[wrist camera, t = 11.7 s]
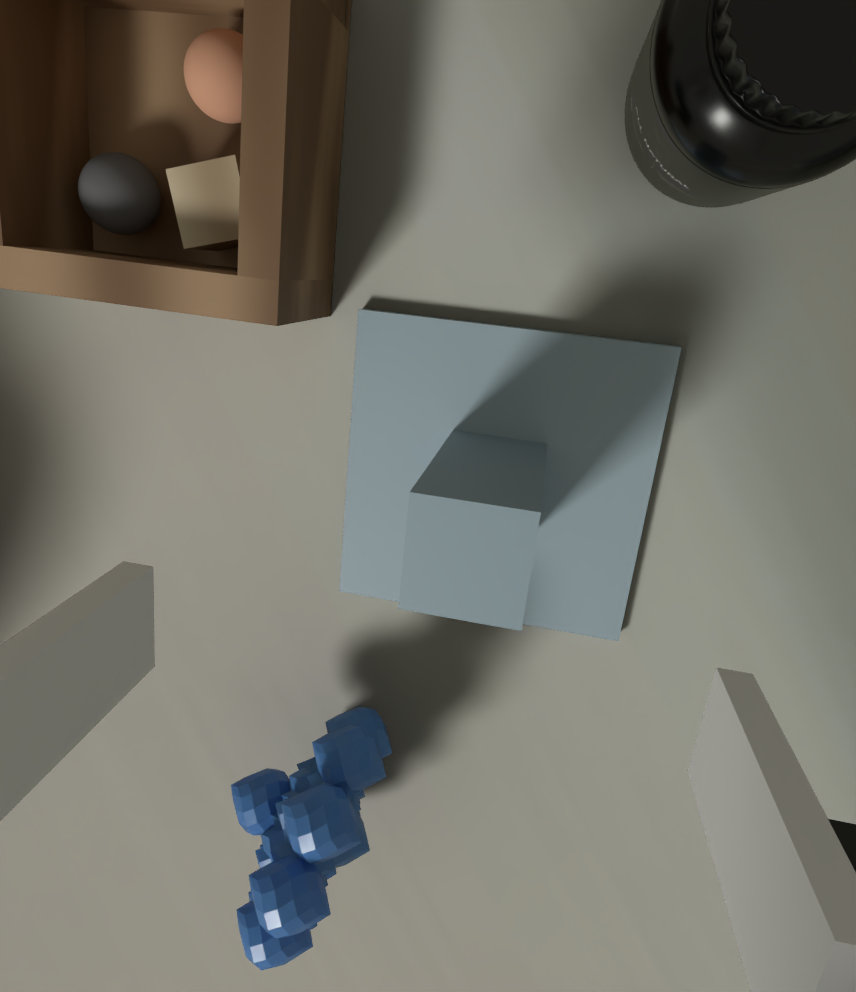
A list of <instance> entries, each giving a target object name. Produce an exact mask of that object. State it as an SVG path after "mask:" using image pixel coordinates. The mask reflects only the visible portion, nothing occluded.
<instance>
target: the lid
mask: <svg viewBox="0 0 856 992" xmlns="http://www.w3.org/2000/svg"><path fill="white" fill-rule="evenodd" d="M680 353H681V347H680V346H674V345H666V344H657V343H649V342H640V341H632V340H624V339H615V338H607V337H599V336H590V335H582V334H573V333H565V332H557V331H548V330H540V329H531V328H523V327H515V326H506V325H498V324H489V323H481V322H473V321H464V320H456V319H447V318H439V317H431V316H422V315H414V314H406V313H397V312H389V311H380V310H372V309H364V308H363V309H358V324H357V339H356V354H355V368H354V383H353V398H352V413H351V427H350V442H349V457H348V472H347V487H346V501H345V516H344V531H343V546H342V561H341V575H340V590H339V591H340V592H346V593H352V594H357V595H363V596H368V597H374V598H380V599H385V600H391V601H396V602H399V605H398V609H402V610H407V611H413V612H418V613H424V614H430V615H435V616H441V617H446V618H452V619H457V620H463V621H468V622H474V623H479V624H485V625H491V626H496V627H502V628H507V629H513V630H518V631H522V625H523V624H525V625H530V626H536V627H542V628H547V629H553V630H558V631H564V632H570V633H575V634H581V635H586V636H592V637H597V638H603V639H609V640H614V641H619V637H620V632H621V627H622V623H623V618H624V613H625V609H626V604H627V599H628V595H629V590H630V586H631V581H632V576H633V572H634V567H635V562H636V558H637V553H638V548H639V544H640V539H641V534H642V530H643V525H644V520H645V516H646V511H647V506H648V502H649V497H650V493H651V488H652V483H653V479H654V474H655V469H656V465H657V460H658V455H659V451H660V446H661V441H662V437H663V432H664V427H665V423H666V418H667V413H668V409H669V404H670V400H671V395H672V390H673V386H674V381H675V376H676V372H677V367H678V362H679V358H680Z"/></svg>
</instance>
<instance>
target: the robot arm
mask: <svg viewBox="0 0 856 992" xmlns="http://www.w3.org/2000/svg"><path fill="white" fill-rule="evenodd" d="M154 666H155V655H154V583H153V567H152V566H147V565H141V564H136V563H130V562H124V561H123V562H122V563H120V564H119V565H117V566H116V567H115V568H113V569H112V570H110V571H109V572H107V573H106V574H104V575H103V576H101V577H100V578H98V579H97V580H95V581H94V582H93V583H91V584H90V585H88V586H87V587H85V588H84V589H82V590H81V591H79V592H78V593H76V594H75V595H73V596H72V597H71V598H69V599H68V600H66V601H65V602H63V603H62V604H60V605H59V606H57V607H56V608H54V609H53V610H52V611H50V612H49V613H47V614H46V615H44V616H43V617H41V618H40V619H38V620H37V621H35V622H34V623H32V624H31V625H30V626H28V627H27V628H25V629H24V630H22V631H21V632H19V633H18V634H16V635H15V636H13V637H12V638H11V639H9V640H8V641H6V642H5V643H3V644H2V645H0V821H1V820H2V819H3V818H4V817H5V816H6V815H7V814H8V813H9V812H10V811H11V810H12V809H13V808H14V807H15V806H16V805H17V804H18V803H19V802H20V801H21V800H22V799H23V798H24V797H25V796H26V795H27V794H28V793H29V792H30V791H31V790H32V789H33V788H34V787H35V786H36V785H37V784H38V783H39V782H40V781H41V780H42V779H43V778H44V777H45V776H46V775H47V774H48V773H49V772H50V771H51V770H52V769H53V768H54V767H55V766H56V765H57V764H58V763H59V762H60V761H61V760H62V759H63V758H64V757H65V756H66V755H67V754H68V753H69V752H70V751H71V750H72V749H73V748H74V747H75V746H76V745H77V744H78V743H79V742H80V741H81V740H82V739H83V738H84V737H85V736H86V735H87V734H88V733H89V732H90V731H91V730H92V729H93V728H94V727H95V726H96V725H97V724H98V723H99V722H100V721H101V719H102V718H103V717H104V716H105V715H106V714H107V713H108V712H109V711H110V710H111V709H112V708H113V707H114V706H115V705H116V704H117V703H118V702H119V701H120V700H121V699H122V698H123V697H124V696H125V695H126V694H127V693H128V692H129V691H130V690H131V689H132V688H133V687H134V686H135V685H136V684H137V683H138V682H139V681H140V680H141V679H142V678H143V677H144V676H145V675H146V674H147V673H148V672H149V671H150V670H151V669H152V668H153V667H154ZM687 771H688V775H689V778H690V782H691V785H692V789H693V792H694V796H695V799H696V803H697V806H698V810H699V813H700V817H701V820H702V824H703V827H704V831H705V834H706V838H707V841H708V845H709V848H710V852H711V855H712V859H713V862H714V866H715V869H716V873H717V876H718V880H719V883H720V887H721V890H722V894H723V897H724V901H725V904H726V908H727V911H728V915H729V918H730V921H731V925H732V928H733V932H734V935H735V939H736V942H737V946H738V949H739V953H740V956H741V960H742V963H743V967H744V970H745V974H746V977H747V981H748V984H749V988H750V991H751V992H856V824H851V823H846V822H841V821H836V820H831V819H828V818H827V816H826V814H825V812H824V810H823V808H822V806H821V805H820V803H819V801H818V799H817V797H816V795H815V793H814V791H813V789H812V787H811V785H810V783H809V781H808V779H807V778H806V776H805V774H804V772H803V770H802V768H801V766H800V764H799V762H798V760H797V758H796V756H795V754H794V752H793V751H792V749H791V747H790V745H789V743H788V741H787V739H786V737H785V735H784V733H783V731H782V729H781V727H780V726H779V724H778V722H777V720H776V718H775V716H774V714H773V712H772V710H771V708H770V706H769V704H768V702H767V700H766V699H765V697H764V695H763V693H762V691H761V689H760V687H759V685H758V683H757V681H756V679H755V677H754V675H753V674H750V673H744V672H738V671H733V670H727V669H722V668H716V671H715V675H714V678H713V682H712V685H711V689H710V692H709V696H708V699H707V703H706V707H705V710H704V714H703V717H702V721H701V724H700V728H699V731H698V735H697V738H696V742H695V745H694V749H693V753H692V756H691V760H690V763H689V767H688V770H687Z"/></svg>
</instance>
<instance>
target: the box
mask: <svg viewBox="0 0 856 992" xmlns="http://www.w3.org/2000/svg"><path fill="white" fill-rule="evenodd" d="M351 1H352V0H0V288H4V289H11V290H19V291H26V292H33V293H41V294H48V295H55V296H63V297H70V298H77V299H84V300H92V301H99V302H106V303H114V304H121V305H128V306H136V307H143V308H150V309H157V310H165V311H172V312H179V313H187V314H194V315H201V316H209V317H216V318H223V319H230V320H238V321H245V322H252V323H260V324H267V325H274V326H279V325H285V324H290V323H295V322H301V321H306V320H311V319H317V318H322V317H328V316H331V305H332V290H333V274H334V259H335V244H336V229H337V214H338V198H339V183H340V168H341V153H342V138H343V122H344V107H345V92H346V77H347V62H348V46H349V31H350V16H351ZM215 28H225V29H231V30H234V31H236V32H238V33H240V34H242V35H243V60H242V103H241V123H234V124H231V123H223V122H220V121H217V120H215V119H213V118H211V117H209V116H208V115H206V114H205V113H204V112H203V111H202V110H201V109H200V108H199V107H198V106H197V105H196V104H195V102H194V101H193V99H192V98H191V96H190V94H189V92H188V89H187V87H186V83H185V78H184V60H185V55H186V52H187V50H188V48H189V46H190V44H191V43H192V42H193V40H194V39H195V38H196V37H197V36H199V35H200V34H201V33H203V32H205V31H207V30H210V29H215ZM108 152H118V153H124V154H127V155H129V156H132V157H134V158H136V159H137V160H139V161H140V162H142V163H143V164H144V165H145V166H146V167H147V168H148V169H149V170H150V171H151V173H152V174H153V176H154V177H155V179H156V181H157V184H158V186H159V189H160V194H161V206H160V210H159V213H158V216H157V218H156V219H155V221H154V222H153V223H152V225H150V226H149V227H148V228H147V229H145V230H144V231H141V232H139V233H136V234H131V235H121V234H116V233H112V232H109V231H107V230H105V229H103V228H102V227H100V226H99V225H97V224H96V223H95V222H94V221H93V220H92V219H91V218H90V217H89V216H88V214H87V213H86V212H85V210H84V208H83V206H82V204H81V201H80V198H79V194H78V180H79V176H80V173H81V171H82V169H83V167H84V166H85V164H86V163H87V162H88V161H89V160H91V159H92V158H93V157H95V156H97V155H99V154H103V153H108ZM231 155H237V156H240V189H239V231H238V248H233V249H227V250H221V251H209V250H193V249H184V247H183V243H182V239H181V234H180V230H179V226H178V221H177V217H176V213H175V208H174V204H173V200H172V195H171V191H170V187H169V182H168V178H167V174H166V169H169V168H174V167H178V166H183V165H188V164H193V163H198V162H202V161H207V160H212V159H217V158H222V157H226V156H231Z"/></svg>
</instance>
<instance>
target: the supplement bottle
mask: <svg viewBox="0 0 856 992" xmlns="http://www.w3.org/2000/svg"><path fill="white" fill-rule="evenodd" d="M625 129H626V136H627V141H628V145H629V148H630V151H631V154H632V156H633V158H634V161H635V162H636V164H637V166H638V168H639V169H640V171H641V172H642V174H643V175H644V176H645V178H646V179H647V180H648V181H649V182H650V183H651V184H652V185H653V186H654V187H655V188H656V189H658V190H659V191H660V192H662V193H663V194H665V195H666V196H668V197H670V198H672V199H674V200H676V201H678V202H681V203H685V204H688V205H693V206H698V207H724V206H730V205H735V204H739V203H743V202H747V201H750V200H753V199H756V198H760V197H763V196H766V195H769V194H772V193H775V192H778V191H782V190H785V189H788V188H791V187H794V186H797V185H801V184H804V183H807V182H810V181H813V180H815V179H818V178H820V177H823V176H825V175H828V174H830V173H832V172H834V171H836V170H838V169H840V168H842V167H844V166H845V165H847V164H849V163H850V162H852V161H854V160H855V159H856V0H662V1H661V3H660V6H659V8H658V10H657V13H656V15H655V18H654V20H653V23H652V25H651V28H650V30H649V32H648V35H647V37H646V40H645V42H644V45H643V47H642V50H641V52H640V54H639V57H638V59H637V62H636V65H635V67H634V70H633V73H632V76H631V79H630V83H629V86H628V90H627V96H626V103H625Z"/></svg>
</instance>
